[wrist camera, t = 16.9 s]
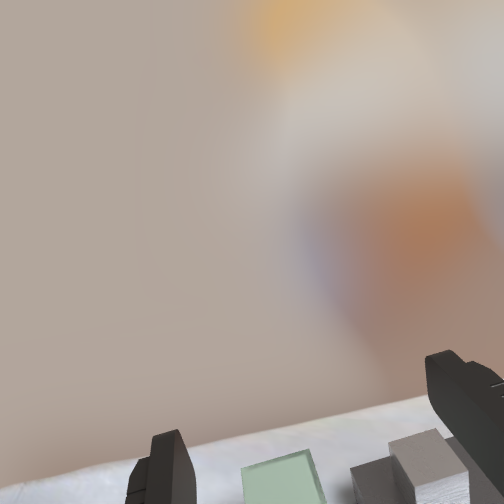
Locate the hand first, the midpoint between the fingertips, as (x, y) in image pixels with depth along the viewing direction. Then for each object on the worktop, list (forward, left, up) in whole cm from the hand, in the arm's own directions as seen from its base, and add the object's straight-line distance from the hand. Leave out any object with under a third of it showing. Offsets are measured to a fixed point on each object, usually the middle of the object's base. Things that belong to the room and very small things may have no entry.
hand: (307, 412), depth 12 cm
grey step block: (+9, +11, -26) cm, 30 cm away
